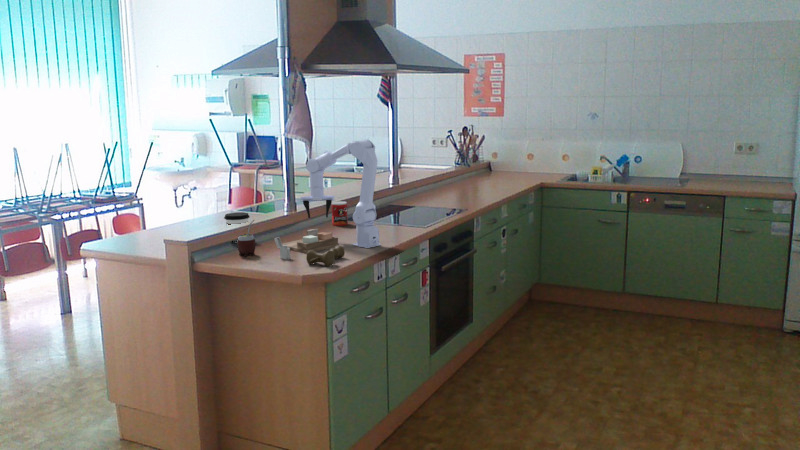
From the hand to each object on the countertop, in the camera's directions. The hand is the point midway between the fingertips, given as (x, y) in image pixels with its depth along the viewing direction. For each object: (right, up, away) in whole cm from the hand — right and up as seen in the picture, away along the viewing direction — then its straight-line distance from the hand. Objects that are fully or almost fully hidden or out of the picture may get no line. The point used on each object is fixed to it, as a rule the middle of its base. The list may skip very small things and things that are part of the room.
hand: (318, 217), depth 303 cm
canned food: (+6, -3, +38) cm, 39 cm away
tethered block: (+2, -11, -11) cm, 15 cm away
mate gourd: (-25, -16, -25) cm, 39 cm away
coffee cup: (-36, -11, +3) cm, 37 cm away
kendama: (+8, -18, -40) cm, 44 cm away
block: (-1, -13, -19) cm, 22 cm away
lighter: (-10, -16, -31) cm, 36 cm away
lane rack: (-3, -12, -11) cm, 17 cm away
